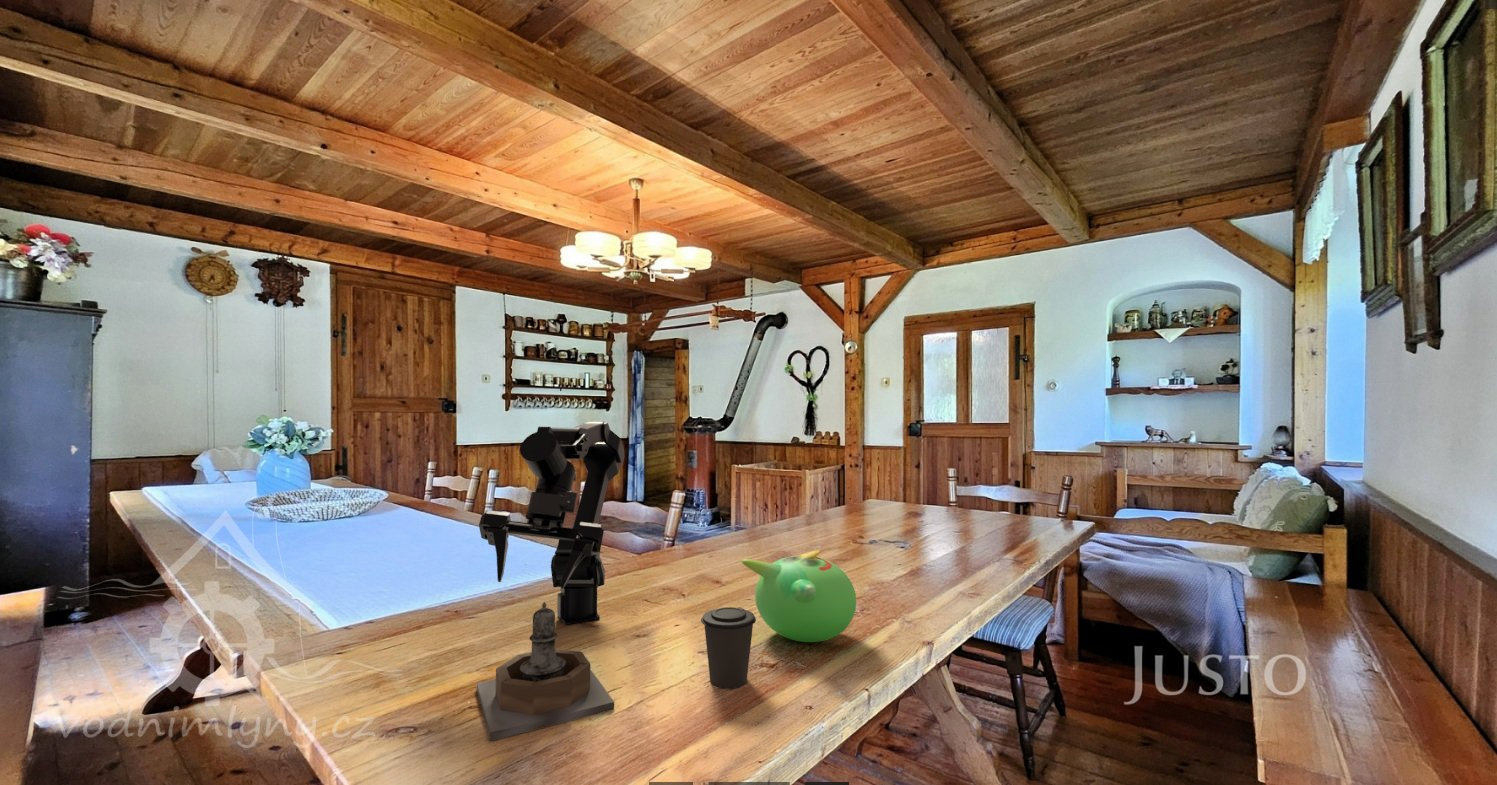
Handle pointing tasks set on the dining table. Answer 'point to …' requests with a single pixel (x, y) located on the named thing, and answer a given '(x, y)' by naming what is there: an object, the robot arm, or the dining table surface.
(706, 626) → the coffee cup
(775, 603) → the round green monster
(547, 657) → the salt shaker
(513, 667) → the socket
